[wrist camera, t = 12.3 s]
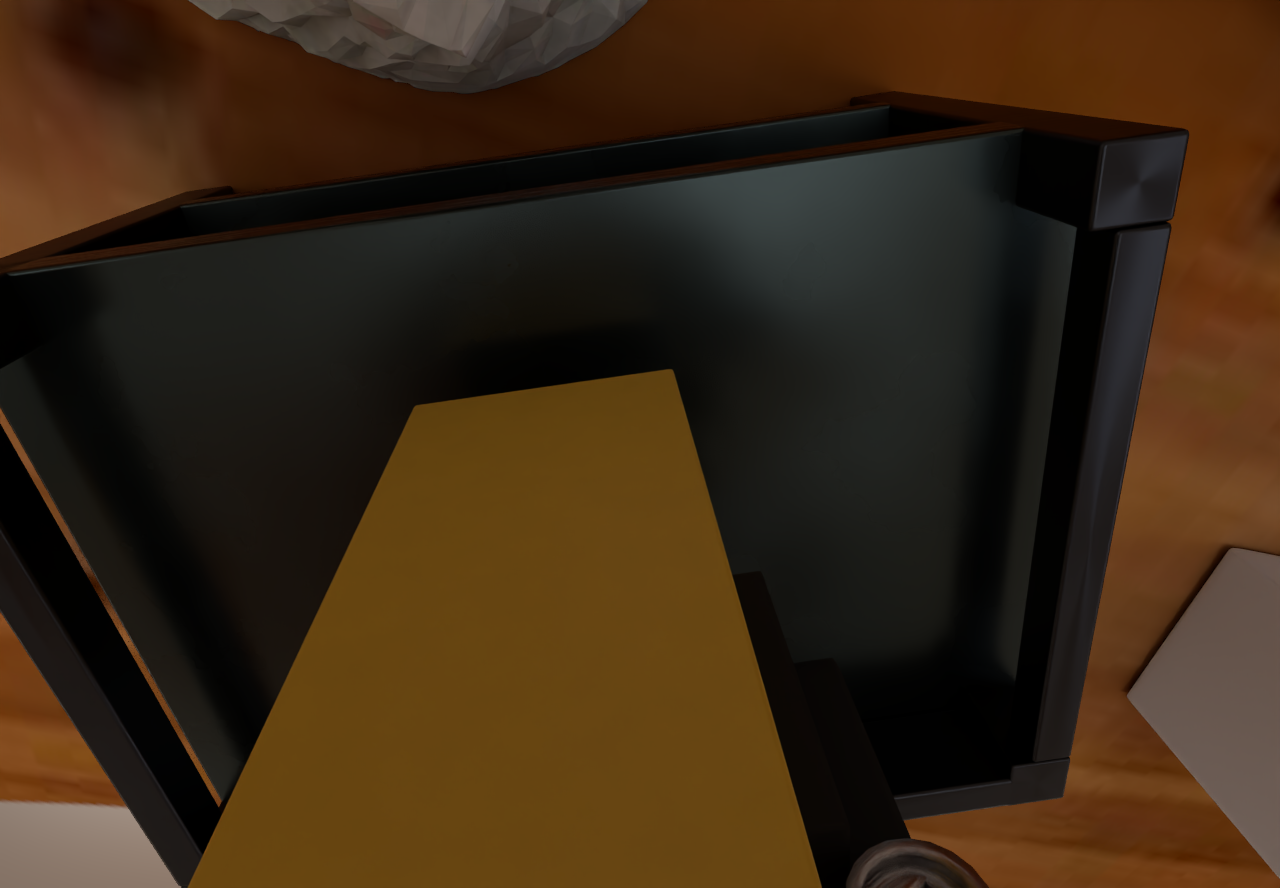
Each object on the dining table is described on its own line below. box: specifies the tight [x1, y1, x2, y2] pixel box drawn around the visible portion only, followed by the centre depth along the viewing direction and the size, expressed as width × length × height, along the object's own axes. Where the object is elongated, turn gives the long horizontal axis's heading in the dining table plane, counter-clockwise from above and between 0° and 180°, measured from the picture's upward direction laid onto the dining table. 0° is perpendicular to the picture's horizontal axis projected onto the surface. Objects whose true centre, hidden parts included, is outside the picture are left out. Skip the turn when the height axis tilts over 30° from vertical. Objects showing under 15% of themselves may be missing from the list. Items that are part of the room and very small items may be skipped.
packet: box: [188, 369, 822, 888], centre depth 8 cm, size 7×4×11 cm, turn 7°
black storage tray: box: [0, 91, 1189, 888], centre depth 18 cm, size 13×18×10 cm
